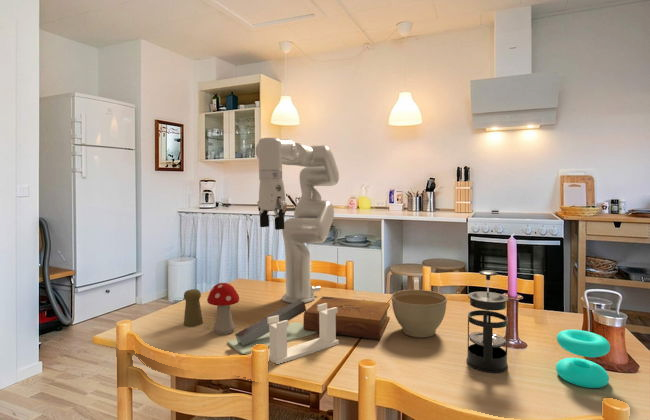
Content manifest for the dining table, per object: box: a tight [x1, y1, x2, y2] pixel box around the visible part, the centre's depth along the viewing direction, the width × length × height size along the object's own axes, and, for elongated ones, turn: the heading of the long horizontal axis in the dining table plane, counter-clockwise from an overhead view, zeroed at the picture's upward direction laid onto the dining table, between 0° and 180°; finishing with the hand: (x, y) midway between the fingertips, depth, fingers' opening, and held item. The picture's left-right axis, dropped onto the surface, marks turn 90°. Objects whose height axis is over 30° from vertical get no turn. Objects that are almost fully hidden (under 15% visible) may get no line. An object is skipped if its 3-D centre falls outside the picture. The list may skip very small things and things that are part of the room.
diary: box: [303, 296, 391, 340], centre depth 122 cm, size 23×19×6 cm
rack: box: [267, 303, 340, 365], centre depth 104 cm, size 20×5×10 cm, turn 128°
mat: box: [226, 321, 318, 355], centre depth 113 cm, size 24×10×1 cm, turn 128°
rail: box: [234, 299, 307, 347], centre depth 113 cm, size 22×3×3 cm, turn 127°
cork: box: [183, 288, 204, 328], centre depth 126 cm, size 6×6×11 cm
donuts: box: [555, 328, 611, 389], centre depth 87 cm, size 10×10×10 cm
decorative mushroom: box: [206, 282, 240, 335], centre depth 118 cm, size 10×9×15 cm
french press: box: [466, 270, 509, 374], centre depth 94 cm, size 12×9×23 cm
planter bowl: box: [390, 289, 448, 338], centre depth 116 cm, size 16×16×11 cm
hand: (271, 228), depth 129 cm, fingers open, 9 cm apart
